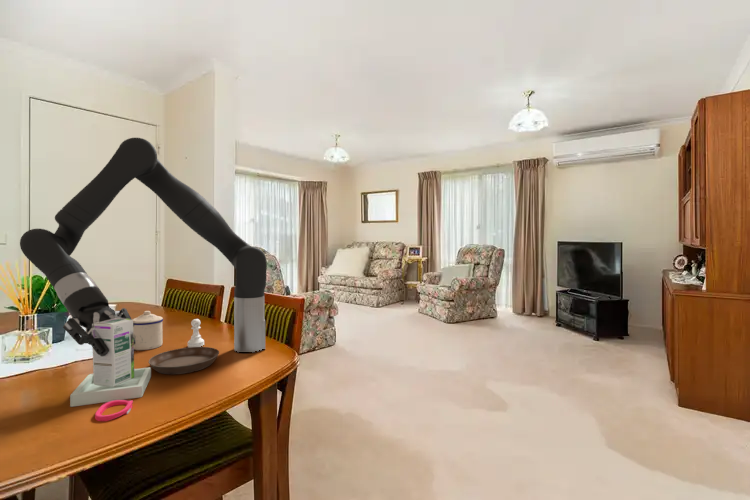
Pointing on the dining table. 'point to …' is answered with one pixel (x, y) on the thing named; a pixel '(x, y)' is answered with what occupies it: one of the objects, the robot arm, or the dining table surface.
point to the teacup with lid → (147, 331)
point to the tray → (110, 389)
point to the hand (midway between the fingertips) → (119, 349)
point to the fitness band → (109, 417)
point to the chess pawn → (195, 335)
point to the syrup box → (114, 353)
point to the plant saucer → (183, 360)
